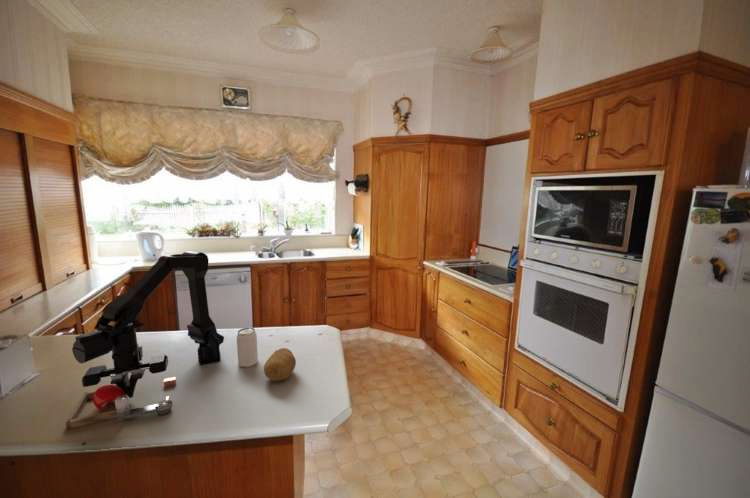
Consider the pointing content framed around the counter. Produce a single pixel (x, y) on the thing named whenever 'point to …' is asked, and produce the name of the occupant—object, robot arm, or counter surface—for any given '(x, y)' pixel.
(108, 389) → the cap
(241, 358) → the can
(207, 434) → the counter surface
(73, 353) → the robot arm
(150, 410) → the crank
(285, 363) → the potato
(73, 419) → the bay
